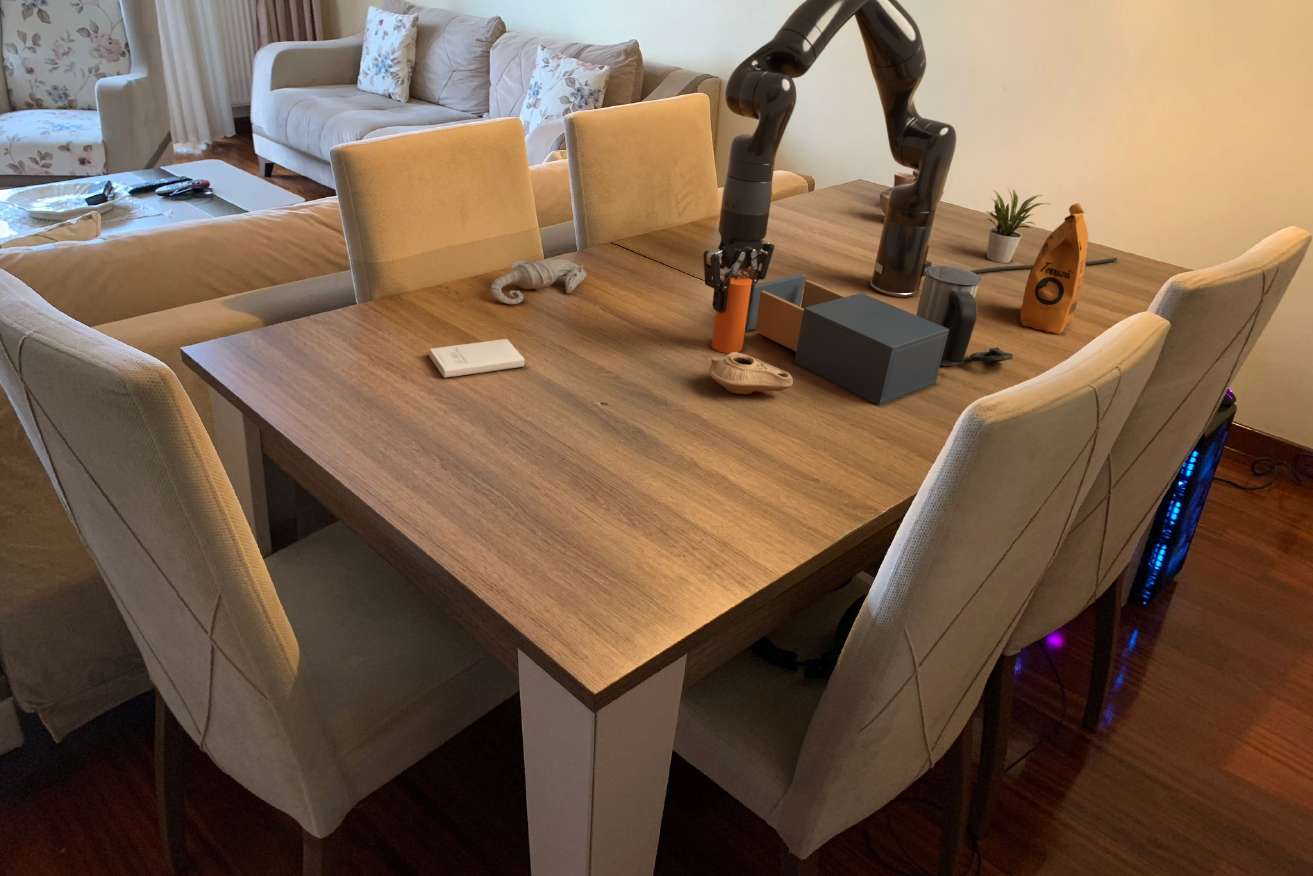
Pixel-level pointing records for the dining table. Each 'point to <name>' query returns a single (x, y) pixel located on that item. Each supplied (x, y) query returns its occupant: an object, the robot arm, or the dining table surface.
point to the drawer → (784, 307)
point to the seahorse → (537, 277)
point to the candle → (732, 316)
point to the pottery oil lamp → (747, 374)
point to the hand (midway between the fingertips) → (732, 307)
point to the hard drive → (476, 358)
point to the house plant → (1007, 228)
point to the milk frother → (954, 312)
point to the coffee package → (1057, 276)
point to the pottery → (898, 180)
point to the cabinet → (870, 347)
